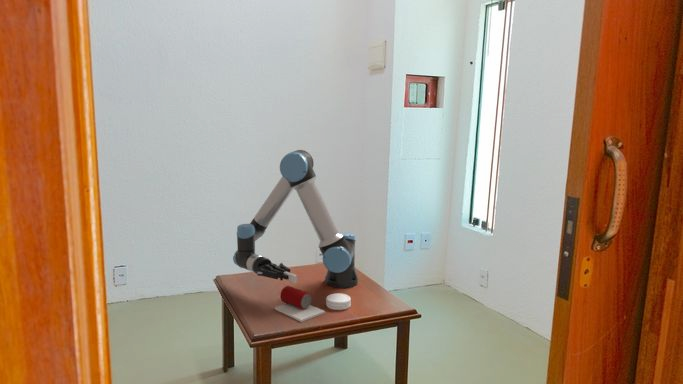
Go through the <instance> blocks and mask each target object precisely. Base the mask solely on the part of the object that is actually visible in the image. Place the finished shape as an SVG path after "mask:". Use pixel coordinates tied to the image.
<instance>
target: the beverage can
mask: <svg viewBox="0 0 683 384" xmlns="http://www.w3.org/2000/svg"><path fill="white" fill-rule="evenodd" d="M280 300H281V302H282V303H283V304H286V303H287V304H289V305H292V306H295V307H297V308H300V309H303V308H307V307H308V306H309V305H311V303H312V296H311V295H310V294H309V292H307V291H305V290H303V289H299V288H295V287H294V286H293V287H292V286H290V285H287V286H284V287H283V289H281V291H280Z"/></svg>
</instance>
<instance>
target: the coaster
mask: <svg viewBox="0 0 683 384" xmlns="http://www.w3.org/2000/svg"><path fill="white" fill-rule="evenodd" d="M351 303H352V302H351V296H350V295H348V294H346V293H331V294H329V295H327V296H326V298H325V305H326V307H327V308H328V309H330V310H334V311H344V310H348V309H349V308H350V307H351V306H352V305H351Z"/></svg>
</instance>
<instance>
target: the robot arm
mask: <svg viewBox="0 0 683 384" xmlns="http://www.w3.org/2000/svg"><path fill="white" fill-rule="evenodd" d="M314 164H315V163H314V159H313V157H312V155H311V154H310V153H309V152H308V151H306V150H305V149H304V150H303V149H298V150H293V151H291V152H288V153H286V154H285V155H284V156H283V157H282V159H281V161H280V163H279V172H280V174H281V177H280V179H279V180H278V182H277V183H276V185H275V186H274V188H273V189H272V191H271V192H270V194H269V195H268V197H267V198H266V200H265V201H264V203H263V204H261V207H260V208H259V210H258V212H256V214H255V215H254V217H253V218H252V220H251V221H250V222H249V223H241V224H239V225H237V228H236V238H237V239H236V240H237V241H236V244H237V250H236V251H235V252H234V254H233V257H232V259H233V263H234V264H235V266H238V267H239V268H241V269H245V270H248V272H249V271H250V272H252V273H254V274H257V276H258V277H259V276H260V277H265V278H269V279H274V280H280V281H283V280H286V281H288V282H292V283H293V284H294V283H297V282H298V275H297V274H295V273H291V269H290V268H289V267H287V266H286V265H284V264H283V262H280V263H279V264H277V263H272V261H271V260H270V259H269V257H265V256H262V255H259V254H256V242H257V240H258V239H260V238H261V237H263V235H264V234H265V232H266V230H267V229H268V227H269V225H270V224H271V222H273V220H274V219H275V218H276V216H277V214H278V212H279V211H280V210H281V208H282V207H283V206H284V204H285V203H286V201H287V200H288V198H289V197H290V195H291V194H292V193H293V191H294V190H295V191H296V193H297V196H298V198H299V199H300V202H301V204H302V206H303V208H304V210H305V213H306V214H307V216H308V218H309V221H310V222H311V223H310V224H311V225H312V227H313V229H314V231H315V233H316V235H317V238H318V240H319V243H318V249H319V250H320V252H321V255H322V264H323V265H324V267H325V268H326V269H327V271H326V274H325V276H324V283H325V284H326V285H328V286H330V287H334V288H341V289H342V288H343V289H345V288H351V287H355V286H357V285H358V284H359V277H358V273H357V270H356V266H355V260H356V257H355V256H356V241H357V239H356V236H355V234H353V233H350V232H339V231H338V229H337V227H336V225H335V222H334V221H333V218H332V216H331V213H330V211H329V209H328V208H327V206H326V205H327V204H326V203H325V201H324V199H323V197H322V194H321V192H320V190H319V187H318V186H317V184H316V179H317V175H316V173H315V171H314Z"/></svg>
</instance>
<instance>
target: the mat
mask: <svg viewBox="0 0 683 384" xmlns="http://www.w3.org/2000/svg"><path fill="white" fill-rule="evenodd" d="M274 310H276V311H278V312H280V314H284V315H286V316H288V317H290V318H292V319H294V320H296V321H298V322H300V323H302V322H305V321H308V320H310V319H313V318H315V317H318V316H320V315H324V314H326V313H325V312H326V311H325V310H323V309H321V308H319V307H316V306H314V305H311V304H310V305H309V306H308V307H307V308H303V309H300V308H297V307H295V306H292V305H289V304H287V303H283V304H280V305H278V306H274Z"/></svg>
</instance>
